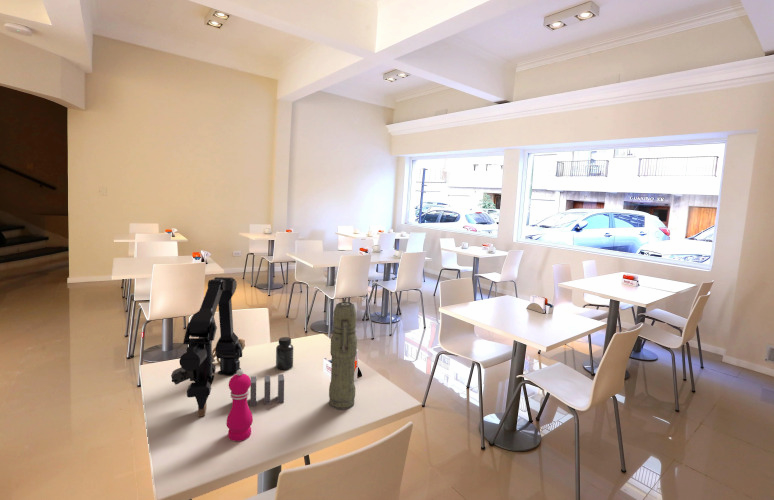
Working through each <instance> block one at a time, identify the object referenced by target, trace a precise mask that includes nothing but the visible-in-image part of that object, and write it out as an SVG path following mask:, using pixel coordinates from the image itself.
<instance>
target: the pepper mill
mask: <svg viewBox="0 0 774 500" xmlns="http://www.w3.org/2000/svg"><path fill="white" fill-rule="evenodd" d="M250 388H251V377H249V375H248V374H245V373H244V371H243V369H242V368H241V369H239V370H238V371H237V373H235V374H234V375H232V376H231V377H230V378H229V382H228V389H229V390H230V398H231V399H232V400H231V401H232V405H231V409H230V410H229V413H228V415H227V418H226V423H225V424H226V428H227V429H228V432H227V435H228V439H229V440H230V441H233V442H242V441H245V440H247V439H249V438H250V436H251V435H252V427H251V426H252V424H253V421H254V417H253V416H254V415H253V414H252V411H251V410H250V407H249V404H248V397H249V395H250Z"/></svg>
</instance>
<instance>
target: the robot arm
mask: <svg viewBox="0 0 774 500" xmlns="http://www.w3.org/2000/svg"><path fill="white" fill-rule="evenodd" d="M237 284H238V283H237V280H236V278H234V277H227V276H225V277H223V276H215V277H214V279H213V278H212V279H209V280H208V282H207V289H206V292H205V294H204V297H203V300H202V303H201V305H200V308H199V310H198V311H197V312H195V313H194V314H193V315H192V316H191V319H190V320H189V322H188V323H187V326H186V329H185V334H184V339H183V342H182V343H183V345H188V346H187V348H186V351H184V353H183V354H181V356H180V358H179V366H180V367H179V368H177V369H174V370H173V371H172V373H171V375H170V376H171V382H172V383H174V385H179V384H181V383H183V382H185V381H187V380H189V382H191V383H190V384H189V385H188V387H187V390H186V397H187V398H195V400H196V402H197V407H198V406H199V409H203V408H204V406H205V403H206V404H207V400H208V398H209V396H210V395H211V391H212V385H213V382H214V379H215V374H216V369H217V368H216V364H214V363H213V362H214V361H213V357H212V351H213V350H212V349H213V344H212V343H213V341H215V337H216V334H217V333H216V332H217V329H218V326H217V324H216V319H215V314H216V311H217V309H218V319H219V331H220V337H219V339H218V340H217V342H216V344H215V347H216V357H215V358H216V359H218V358H219V361H220V364H219V370H218V371H217V374H218V375H225V376H231V377H233V376H234V375H236V374H237V371H238V370H239V369H241V370H242V367H241V364H240V362H241V361H240V358H243V350H242V347H241V345H240V343H239V340H238V339H239V337H238V336H237V334H236V333H235V331H234V321H233V320H234V319H233V306H232V305H233V304H232V298H233V296H234V294H235V293H236V291H237V290H236V289H237V286H238V285H237Z"/></svg>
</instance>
